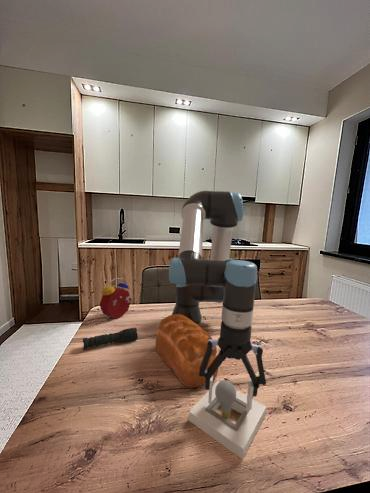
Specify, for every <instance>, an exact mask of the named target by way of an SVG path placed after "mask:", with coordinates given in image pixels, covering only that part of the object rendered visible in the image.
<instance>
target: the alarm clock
mask: <svg viewBox="0 0 370 493" xmlns="http://www.w3.org/2000/svg"><path fill="white" fill-rule="evenodd" d="M114 280H121V282H119V283H117V285H116V284H114V285H111V283H112V282H113V281H114ZM116 286H117V287H116ZM126 289H128V290H126ZM129 289H130V287H129V284H127V283H126V282H125V281H123V278H119V277H115V278H113V279H112V280H110V281H109V284H108V285H107V286H105V287H104V288H103V290H102V292H101V293H102V297H101V299H100V303H99V307H100V310H101V312H102V314H103V315H105V316H107V317H106V320H109V319H110V318H113V319H120V318H122V317H123V316H124V315H125V314H126V313H127V312H128V311H129V308H130V307H131V306H130V305H131V302H132V296H131V295H130V292H129Z"/></svg>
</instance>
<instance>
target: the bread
mask: <svg viewBox="0 0 370 493" xmlns="http://www.w3.org/2000/svg"><path fill="white" fill-rule="evenodd" d="M208 338H212V340H214V339H213V337H212V336H211V335H210V334H209V333H208V332H207V331H206V330H205V329H202V327H201V326H199V324H198V325H197V324H196V323H194V322H193V321H192V320H190V319H189V318H187V317H186V316H184V315H181V314H174V315H172V314H170V315H168V316H166V317H164V318H162V319H161V321H160V323H159V325H158V332H157V333H156V336H155V350H156V352H157V354H158V355H159V356H160V357H161V358H162V360H163V361H164V363H165V364H166V366H168V368H170V369H171V370H172V372H173V374H174V376H176V377H177V379H178V380H179V381H180V383H182V384H183V385H184V387H188V388H191V389H192V388H193V389H194V388H197V387H199V386H202V385H205V380H206V379H205V377H204V376H202V377H201V376H199V369H200V365H201V363H202V360H203V357H204V355H205V352H206V349H207V342H208ZM217 348H218V347H217V346H216V347H215V349H212V354H211V356H210V359H209V362H208V365H207V367H206V369H208V367H209V366H210V365H211V363H212V362H213V361H214V359H215V358H216V356H217V355H218V353H217V352H218V350H217ZM218 373H219V368H218V369H217V370H216V372H215V373H214V374H213V380H215V379H216V378H217V377H218Z"/></svg>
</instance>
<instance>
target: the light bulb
mask: <svg viewBox="0 0 370 493" xmlns="http://www.w3.org/2000/svg"><path fill="white" fill-rule="evenodd" d="M236 390H237V389H236V388H235V385H234V384H233V383H232V382H231V381H228V380H222V381H220V382H219V383H218V384H217V386H216V389H215V395H216V398H217V400H218V402H219V403H220V404H221V405H220V406H221V411H222V412H221V416H223V417H224V418H226V419H227V420H228V419H229V418H230V417H231V407H230V406H231V405H232V404H233V402H234V401H235V399H236Z"/></svg>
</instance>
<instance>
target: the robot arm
mask: <svg viewBox="0 0 370 493" xmlns="http://www.w3.org/2000/svg"><path fill="white" fill-rule="evenodd" d="M243 201H244V200H243V198H242V194H241V193H239V192H234V191H220V190H219V191H217V190H216V191H215V190H214V191H213V190H201V191H198V192H196V193H193V194H192V195H190V196H189V197H188V198H187V199H186V200H185V202H184V203H183V205H182V207H181V211H180V213H181V214H180V215H181V219H182V225H181V231H180V232H181V234H180V241H179V248H178V255H177V257H172V258H171V259H170V261H169V264H168V265H169V268H168V280H169V283H171V284H175V287H176V292H175V293H176V295H175V296H176V297H175V305H174V308H173V310H172V313H171V315H174V314H181V315H184V316H186V317H187V318H189V319H190V320H192V321H193V322H194V323H196V324H197V325H198V326H199V325H200V324H201V323H202V314H201V313H202V312H201V309H200V302H208V303H218V304H219V303H220V304H221V303H222V307H221V308H222V309H221V323H220V331H219V337H218V339H213V337H212V338H208V342H207V349H206V352H205V355H204V357H203V360H202V363H201V365H200V369H199V376H201V377H202V376H204V377H205V379H206V380H205V384H204V388H205V390H208V391H209V400H208V403H210V404H211V400H212V387H213V385H214V384H213V383H214V379H213V374H214V373H215V372H216V370H217V369H218V370H219V367H220V366H221V365H222V364H223V362H225V360H227V359H231V360H232V359H235V360H238V361H240V360H241V362H242V364H243V365H244V367H245V369H246V372H247V374H248V376H249V379H248V384H247V385H248V387H247V395H246V396H247V405H248V409H249V410H251V408H252V399H253V397H257V395H258V389H259V388H260V385H262V386H266V385H267V381H266V373H265V369H264V364H263V358H262V356H263V353H264V350H263V346H262V344H261V343H259V342H258V343H256V344H253V343H252V342H251V339H252V338H251V337H252V326H253V325H252V324H253V320H254V318H253V317H254V305H255V297H256V290H257V289H256V287H257V282H258V266H257V264H255V263H254V262H252V261H249V260H248V261H247V260H241V259H240V260H239V259H232V258H230V255H231V248H232V240H233V231H234V229H235V228H236V227H237V226H238V223H239V222H241V221H243V219H244V218H243V217H244V205H243V204H244V203H243ZM204 220H209V224H210V225H211V226H212V237H211V246H210V258H209V259H203V238H204V237H203V235H204V234H203V232H204V230H203V229H204V227H203V226H204V224H203V223H204ZM212 339H213V340H212ZM217 346H218V348H219V349H220V350H219V352H218V353H217V354H216V355H217V356H216V358H215V359H214V361H213V362H212V363H211V365H210V366H209V367H208V369H206V367H207V365H208V362H209V359H210V356H211V354H212V349H215V347H217ZM251 350H252V352H253V354H255V360H256V365H257V371H258V375H256V372H255V370H254V369H253V366H252V364H251V362H250V359H249V358H248V355H247V354H249V353H250V351H251Z"/></svg>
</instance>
